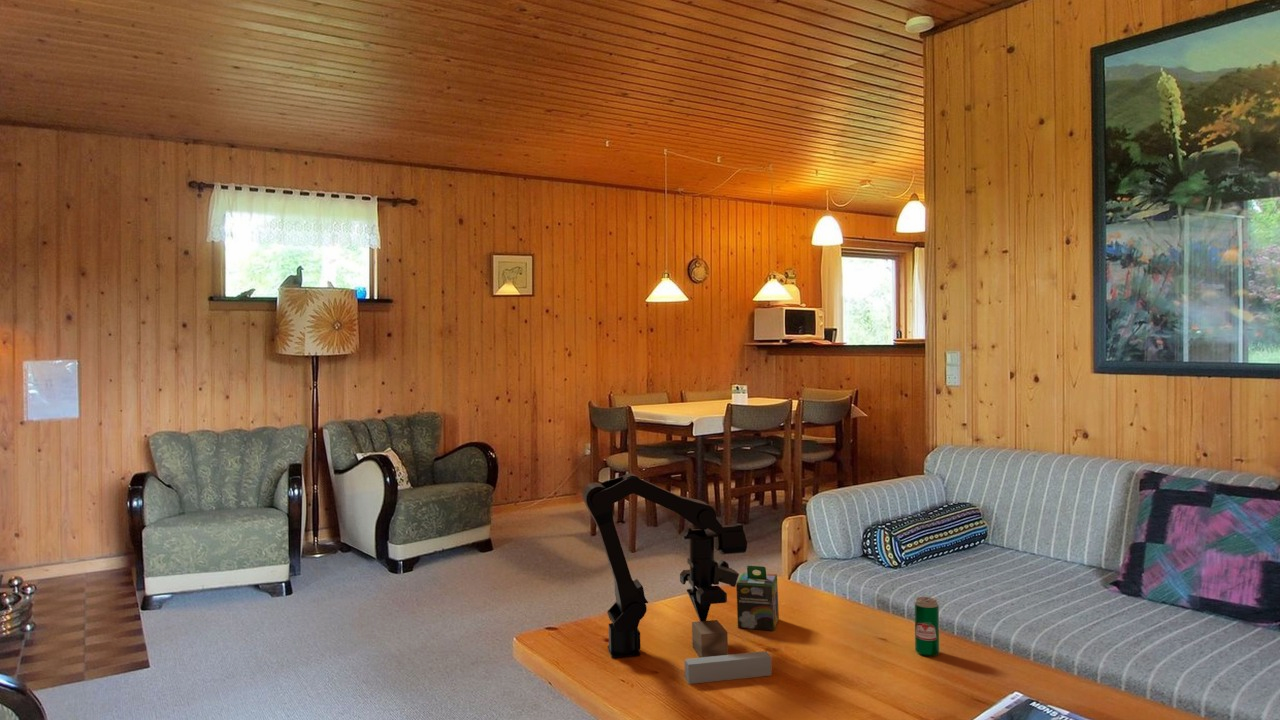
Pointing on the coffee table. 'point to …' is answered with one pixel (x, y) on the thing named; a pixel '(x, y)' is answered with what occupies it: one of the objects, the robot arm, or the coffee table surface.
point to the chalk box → (757, 599)
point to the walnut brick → (709, 638)
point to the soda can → (927, 626)
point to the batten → (727, 667)
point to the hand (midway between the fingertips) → (703, 622)
